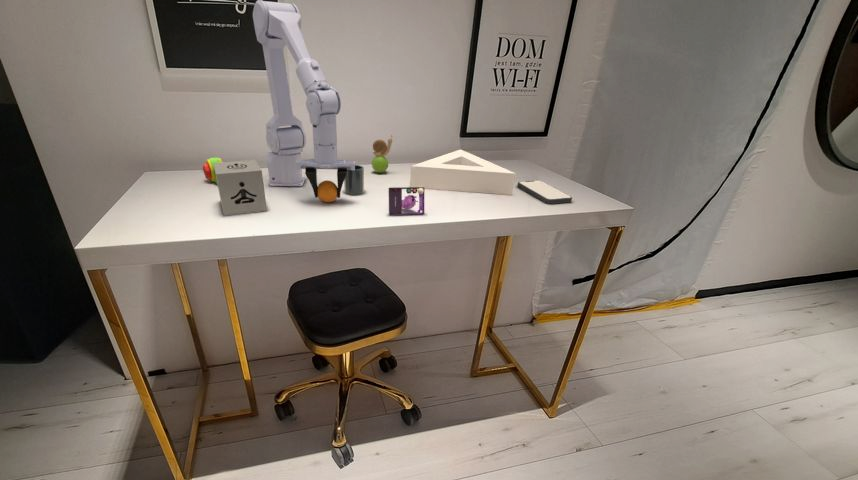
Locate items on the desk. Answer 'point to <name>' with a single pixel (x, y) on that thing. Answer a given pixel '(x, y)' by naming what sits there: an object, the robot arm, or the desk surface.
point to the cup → (354, 181)
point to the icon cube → (240, 187)
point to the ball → (327, 191)
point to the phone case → (544, 192)
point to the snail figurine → (381, 155)
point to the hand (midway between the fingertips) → (327, 196)
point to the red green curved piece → (211, 169)
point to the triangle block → (462, 174)
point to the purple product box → (405, 200)
